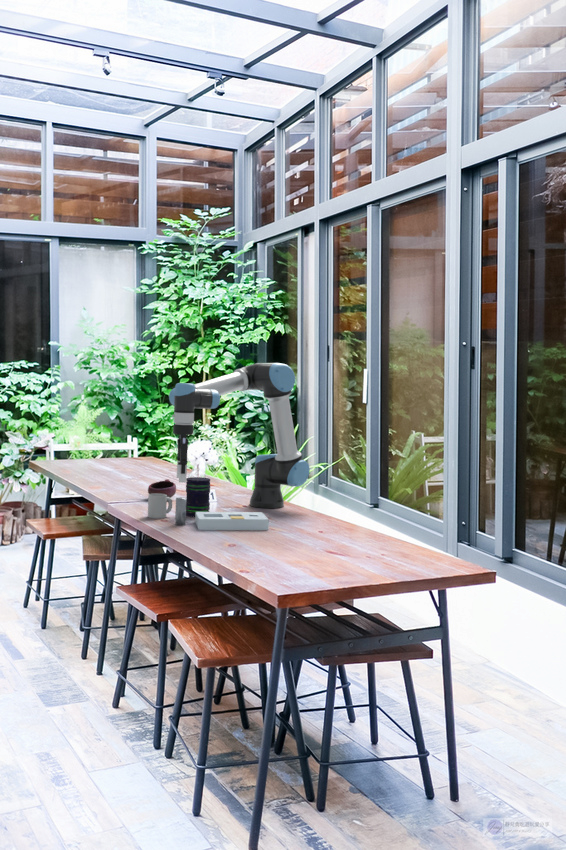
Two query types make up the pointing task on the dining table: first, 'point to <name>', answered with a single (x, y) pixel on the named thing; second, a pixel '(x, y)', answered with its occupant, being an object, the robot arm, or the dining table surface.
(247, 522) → the block
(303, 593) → the dining table surface
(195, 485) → the storage jar
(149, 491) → the bowl
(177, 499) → the grey rounded cylinder
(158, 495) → the cup
